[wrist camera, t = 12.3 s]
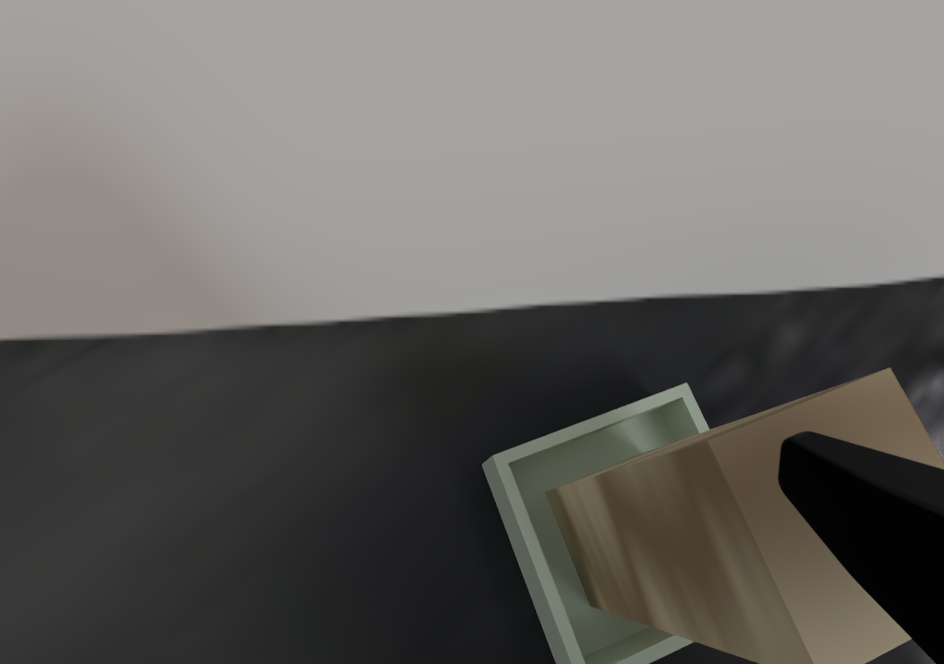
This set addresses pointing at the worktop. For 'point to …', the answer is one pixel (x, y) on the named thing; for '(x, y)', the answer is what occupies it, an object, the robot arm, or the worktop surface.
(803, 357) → the worktop surface
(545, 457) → the open square box
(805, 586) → the tan wooden block
